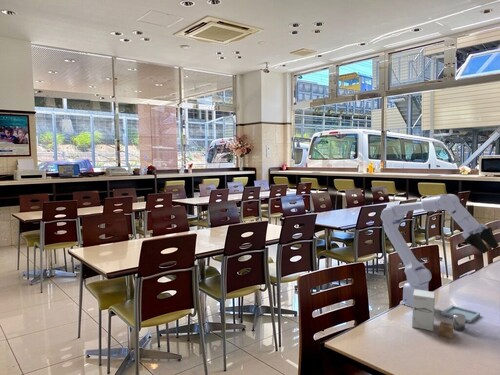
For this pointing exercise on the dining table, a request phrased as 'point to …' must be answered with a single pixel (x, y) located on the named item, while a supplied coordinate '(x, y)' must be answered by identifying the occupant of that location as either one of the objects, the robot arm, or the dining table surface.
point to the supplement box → (423, 309)
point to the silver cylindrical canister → (459, 322)
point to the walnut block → (446, 330)
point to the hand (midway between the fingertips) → (491, 249)
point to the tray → (469, 314)
